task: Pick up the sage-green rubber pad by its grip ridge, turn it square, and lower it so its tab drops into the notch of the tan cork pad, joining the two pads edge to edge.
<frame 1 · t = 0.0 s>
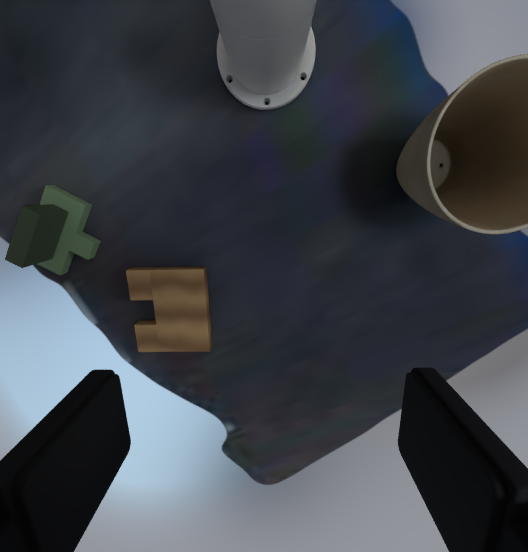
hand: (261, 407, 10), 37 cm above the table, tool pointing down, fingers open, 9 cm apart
cork pad: (173, 308, 48), on the table
plant pot: (422, 166, 42), on the table
green pad: (61, 230, 45), on the table
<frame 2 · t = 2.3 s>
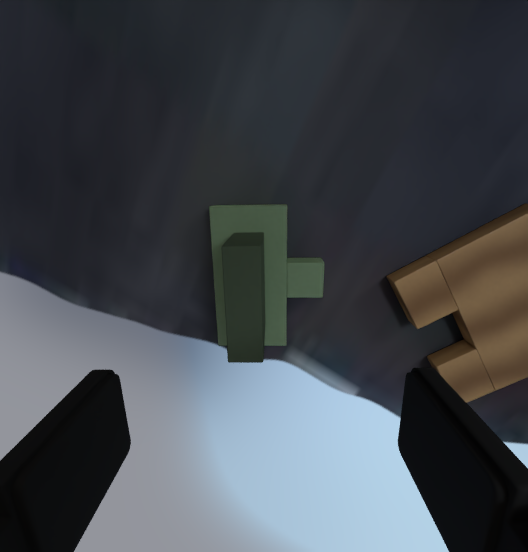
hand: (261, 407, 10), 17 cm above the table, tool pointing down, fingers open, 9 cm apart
cork pad: (481, 308, 26), on the table
green pad: (251, 274, 26), on the table
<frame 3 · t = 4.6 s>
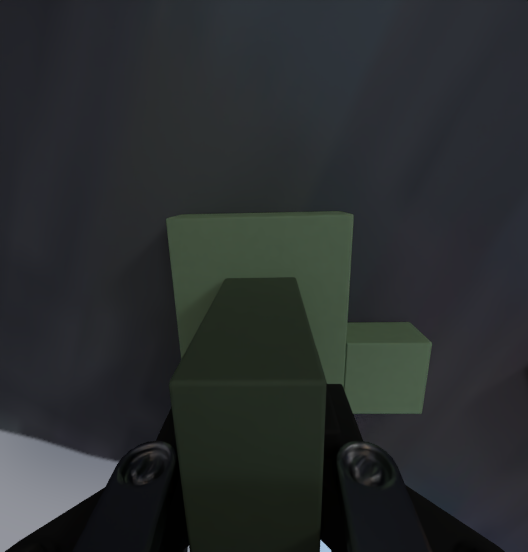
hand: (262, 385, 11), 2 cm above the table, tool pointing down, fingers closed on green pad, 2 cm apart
green pad: (264, 355, 13), on the table, touching gripper
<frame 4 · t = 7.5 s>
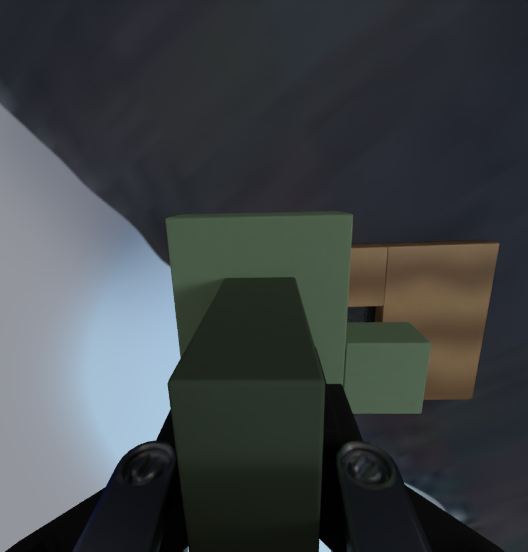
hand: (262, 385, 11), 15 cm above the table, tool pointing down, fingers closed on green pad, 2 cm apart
cork pad: (401, 320, 26), on the table
green pad: (263, 354, 13), point 13 cm above the table, touching gripper
when the fingers open (2 cm above the table, at t = 10.3 s): green pad stays where it is, on the table.
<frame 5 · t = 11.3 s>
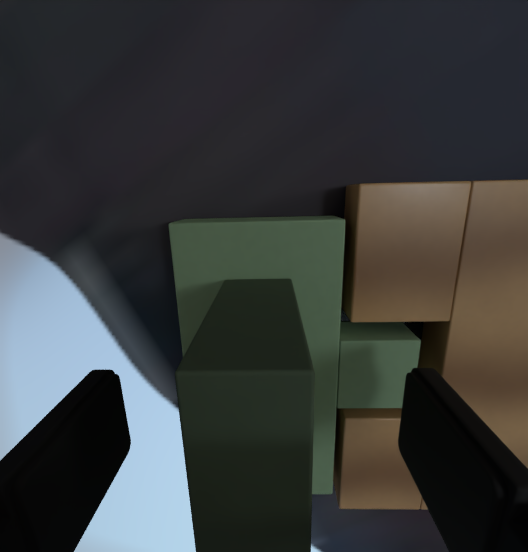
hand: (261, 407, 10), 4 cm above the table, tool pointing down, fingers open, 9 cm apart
cork pad: (474, 348, 13), on the table
green pad: (262, 353, 13), on the table
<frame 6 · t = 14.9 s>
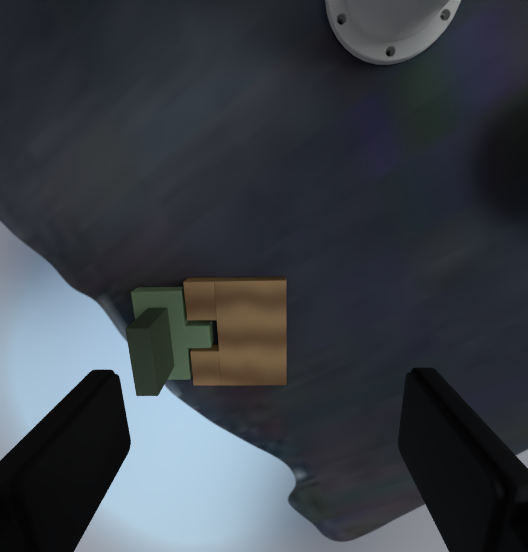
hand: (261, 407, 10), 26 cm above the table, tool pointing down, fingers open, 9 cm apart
cork pad: (238, 329, 38), on the table
green pad: (166, 331, 38), on the table
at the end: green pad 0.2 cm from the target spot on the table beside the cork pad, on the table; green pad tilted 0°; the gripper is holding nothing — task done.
